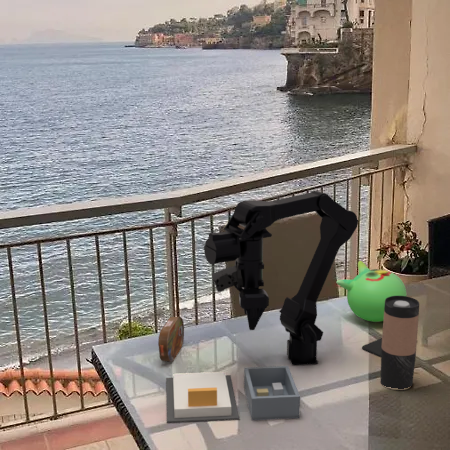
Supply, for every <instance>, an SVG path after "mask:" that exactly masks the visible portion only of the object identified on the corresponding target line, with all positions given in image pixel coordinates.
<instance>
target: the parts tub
mask: <svg viewBox="0 0 450 450" xmlns="http://www.w3.org/2000/svg"><path fill="white" fill-rule="evenodd" d="M243 389H244V390H243V391H244V393H245V397H246V402H247V406H248V411H249V415H250V418H251V421H266V420H269V421H270V420H288V419H289V420H290V419H291V420H293V419H300V415H301V414H300V413H301V410H300V409H301V408H300V407H301V395H300V392H299V390H298V387H297V385H296V382H295V379H294V377H293V375H292V372H291V368H290V367H289V365H277V366H276V365H273V366H248V367H247V366H245V367H243Z"/></svg>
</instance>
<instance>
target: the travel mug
mask: <svg viewBox="0 0 450 450" xmlns="http://www.w3.org/2000/svg"><path fill="white" fill-rule="evenodd" d="M419 315H420V302H419V300H417V298H414V297H412V296H411V297H410V296H407V295H406V296H391V297H388V298H386V299H385V307H384V320H383V321H382V323H383V325H382V335H381V336H382V337H381V338H382V346H381V347H382V348H381V357H380V384H381V385H382V386H383V385H384V386H386V387H391V388H398V389H404V388H408V387H410V386H412V387H413V383H414V375H415V366H416V356H417V347H418V346H417V345H418V334H419V333H418V331H419V330H418V329H419V317H420V316H419ZM384 386H383V387H384ZM386 387H385V388H386Z"/></svg>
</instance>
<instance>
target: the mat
mask: <svg viewBox="0 0 450 450" xmlns="http://www.w3.org/2000/svg"><path fill="white" fill-rule="evenodd" d="M225 376H226V381H227V387H228V392H229V397H230V402H231V415H229V416H207V417H185V418H175V416H174V388H173V377H166V378H165V388H166V392H165V393H166V401H165V402H166V404H165V405H166V424H175V423H176V424H178V423H179V424H180V423H197V422H199V423H200V422H214V421H215V422H216V421H218V422H220V421H222V422H224V421H240V413H239V410H238V405H237V399H236V394H235V390H234V386H233V380H232V375H230V374H228V375H226V374H225Z"/></svg>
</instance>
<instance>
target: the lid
mask: <svg viewBox="0 0 450 450" xmlns="http://www.w3.org/2000/svg"><path fill="white" fill-rule="evenodd" d="M225 375H226V372H225V371H205V372H203V371H202V372H187V373H186V372H182V373H173V374H172V376H173V377H172V378H173V388H174V416H175V418H185V417H207V416H229V415H231V402H230V397H229V392H228V387H227V381H226V376H225Z"/></svg>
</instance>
